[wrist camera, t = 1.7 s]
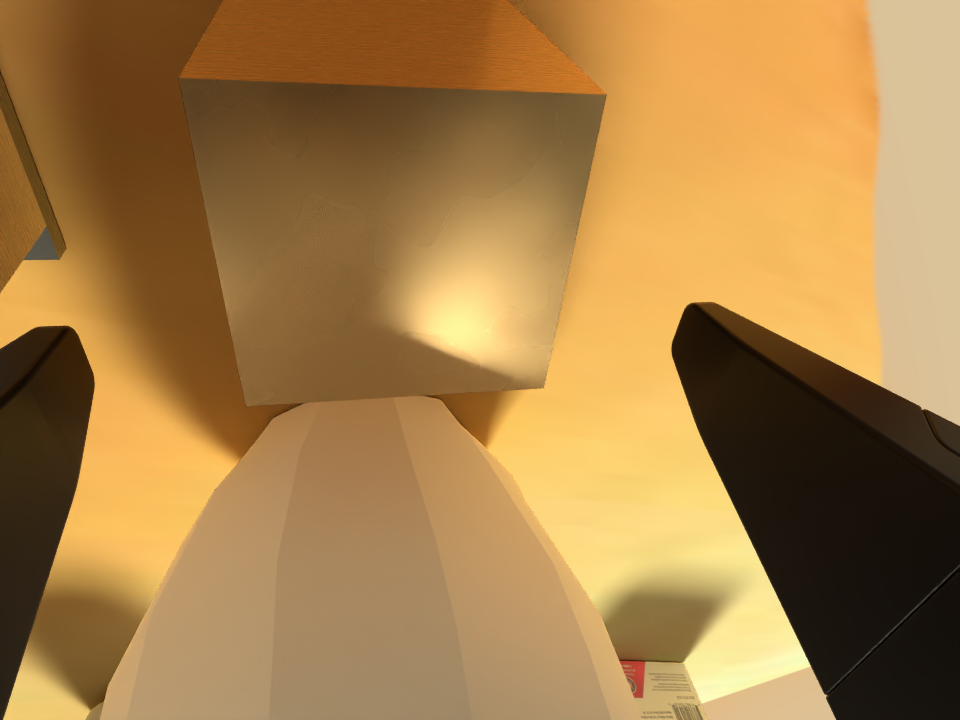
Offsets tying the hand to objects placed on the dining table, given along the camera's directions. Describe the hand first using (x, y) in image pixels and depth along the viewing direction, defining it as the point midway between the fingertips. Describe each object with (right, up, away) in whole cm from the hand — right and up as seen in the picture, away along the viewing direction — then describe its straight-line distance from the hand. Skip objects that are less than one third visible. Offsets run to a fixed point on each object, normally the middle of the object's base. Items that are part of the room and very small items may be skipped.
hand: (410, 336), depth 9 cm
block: (-2, +6, +7) cm, 10 cm away
